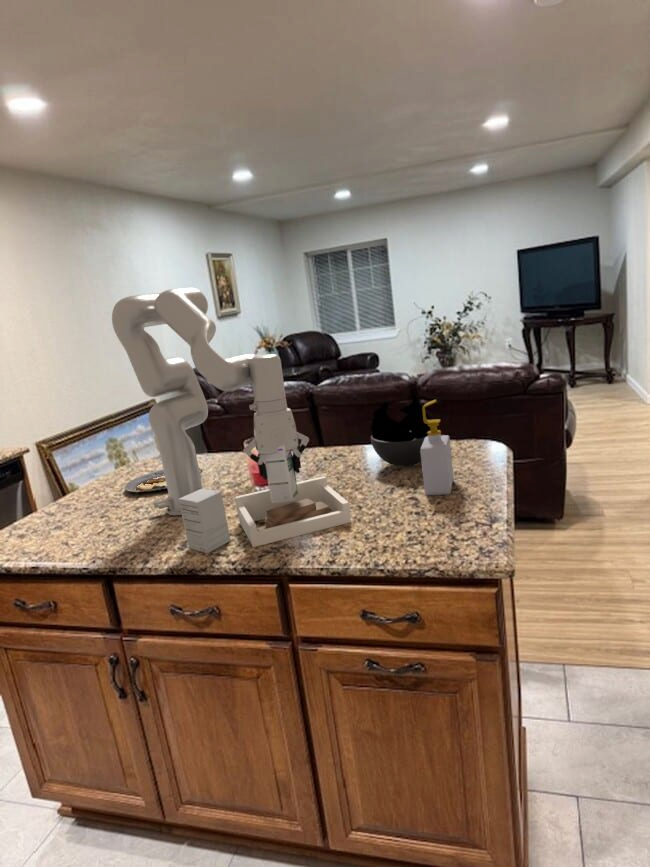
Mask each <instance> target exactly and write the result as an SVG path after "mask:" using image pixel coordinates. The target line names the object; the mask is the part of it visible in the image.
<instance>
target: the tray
mask: <svg viewBox="0 0 650 867" xmlns="http://www.w3.org/2000/svg"><path fill="white" fill-rule="evenodd" d="M296 483H297V489H298V495H297V497H296V498H295V499H294V501H293V502H288V503H272V502H271V497H270V491H269V488H267V489H264V490H257V491H255V492H249V493H246V494H245V493H244V494H241V495H236V496H234V498H235V502H236V503H235V504H236V510H237V514H238V519H239V523H240V525H241V527H242V529H243V531H244V533H245V534H246V537H247V538H248V540H249V542H250V544H251V546H252V547H253V548H256V547H258V546H259V547H260V546H263V545H267V544H271V543H275V542H280V541H282V540H287V539H290V538H295V537H298V536H302V535H307V534H310V533H311V534H312V533H314V532H320V531H322V530H323V531H324V530H326V529H329V528H334V527H337V526H342V525H346V524H350V523H352V517H351V511H350V509H351V508H350V503H349V502H348V501H347V500H346V499H345V498H344V497H342V495H340V493H338V492H337V491H335V490H334V489H333V488H332V487H330V485H328V482H327V477H326V476H320V477H315V478H310V479H307V480H302V481H296ZM307 498H308V499H310V500H311V501H313V502H315V503H316V502H320V501H321V502H323V503H324V504H326V505H328V506H329V507H330V509H331V510H332V511H331V510H330V511H331V512H332V513H328V514H324V515H320V516H316V517H312V518H308V519H303V520H299V521H295V522H291V523H287V524H283V525H279V526H275V527H271V528H267V529H263V530H259V531H257V528H258V527H257V524H256V522H255V521H260V520H265V519H264V518H266V517H267V512H266V510H270V509H273V508H277V507H280V506H283V505H287V504H290V503H294V502H297V501H300V500H304V499H307Z"/></svg>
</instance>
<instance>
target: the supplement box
mask: <svg viewBox="0 0 650 867" xmlns="http://www.w3.org/2000/svg"><path fill="white" fill-rule="evenodd" d="M178 500H179V505H180V509H181V514H182V516H181V517H182V523H183V527H184V533H185V537H186V542H187V546H188V549H190V548H191V549H190V550H194V551H199V552H202V553H206V554H210V553H211V552H213V551H214V550H216V549H218V548H220V547H222V546H224V545H226V544H227V543H229V542H230V541H232V540H231V536H230V531H229V530H230V529H229V525H228V520H227V515H226V510H225V504H224V499H223V494H222V491H219V490H214V489H205V488H203V489H200V490H198V491H195V492H193V493H191V494H189V495H186V496H184V497H182V498H179V499H178Z"/></svg>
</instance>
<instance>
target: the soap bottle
mask: <svg viewBox="0 0 650 867" xmlns="http://www.w3.org/2000/svg"><path fill="white" fill-rule="evenodd" d="M435 403H437V399H433V400H430V401H428V402H426V403H425V404H424V405H423V406H422V407H423V409H422V411H423V421H424V423H425V424H428V426H429V427H430V429H431V431H428V432H427V433H428V437H425V439H424V441H423V444H422V446H421V450H420V452H421V461H422V462H421V469H422V470H421V471H422V479H423V488H424V493H425V496H436V495H437V496H440V495H441V496H443V495H451V494H452V493H451V492H452V488H453V482H454V470H453V459H452V450H451V448H452V447H451V440H450V435H448V434H447V435H445V434H442V431H441V430H440V429H438V427H439V426H440V424H439V423H441V419H439V418H438V419H437V418H436V419H431V420H427V419H426V415H425V413H426V408H427V407H429V406H431V405H433V404H435Z"/></svg>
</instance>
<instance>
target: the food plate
mask: <svg viewBox="0 0 650 867" xmlns="http://www.w3.org/2000/svg"><path fill="white" fill-rule="evenodd" d="M199 472H200V475H201V474H202V473H203V469H201V468H200V467H199ZM161 476H165V475H164V470H163V469H159V470H155V471H152V472H150V473H147V474H143V475H140V476H137V477H136V478H133V479H132V480H130V481H128V482H127V483H126V484H125V486H124V490H126V492H128V491H129V492H134V493H140V492H141V493H143V492H148V493H149V492H153V491H161V490H162V489H163V490H165V489H167V484H166V482H164V481H166V480H165V478H158V479H153V478H157V477H161ZM148 480H149V481H148ZM147 481H148V482H147ZM141 483H143V485H142V486H138V485H140V484H141ZM153 483H157V484H153ZM145 484H151V485H145ZM144 485H145V486H144ZM137 486H138V487H137ZM135 488H136V490H135Z"/></svg>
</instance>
